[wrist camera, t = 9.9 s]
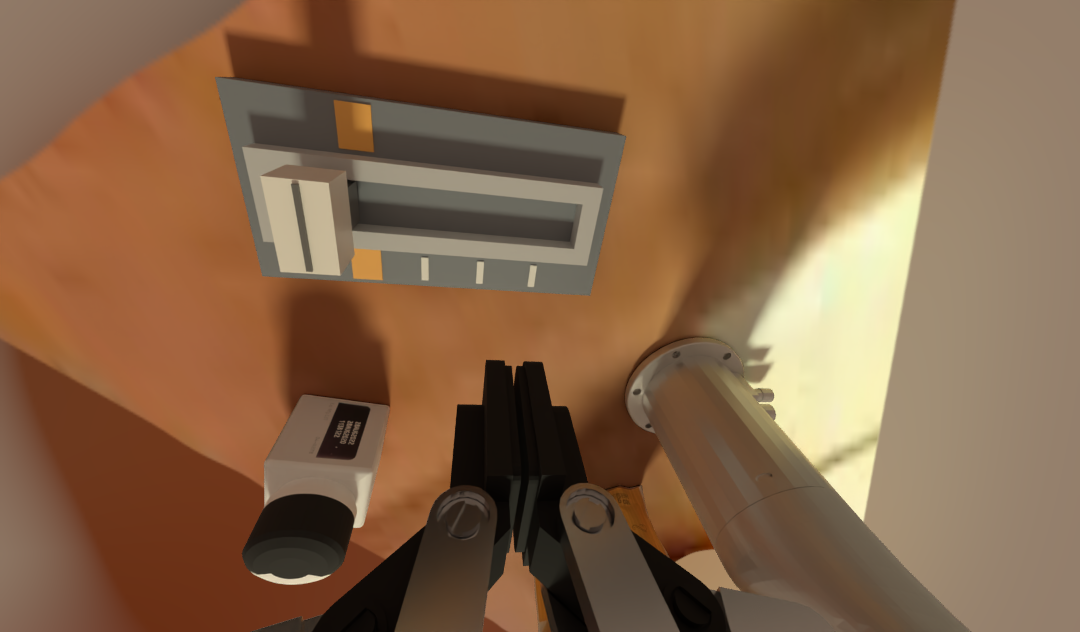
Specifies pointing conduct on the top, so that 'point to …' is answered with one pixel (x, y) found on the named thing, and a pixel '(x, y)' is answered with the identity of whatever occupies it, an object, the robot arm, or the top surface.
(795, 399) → the top surface
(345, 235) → the fader
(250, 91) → the console
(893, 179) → the top surface
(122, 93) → the top surface
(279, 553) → the container
